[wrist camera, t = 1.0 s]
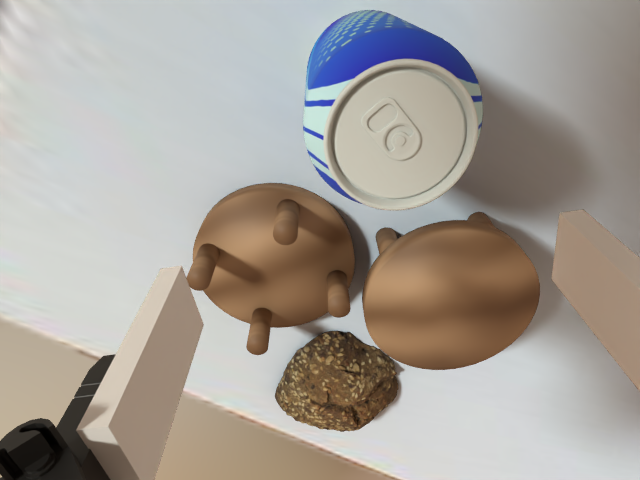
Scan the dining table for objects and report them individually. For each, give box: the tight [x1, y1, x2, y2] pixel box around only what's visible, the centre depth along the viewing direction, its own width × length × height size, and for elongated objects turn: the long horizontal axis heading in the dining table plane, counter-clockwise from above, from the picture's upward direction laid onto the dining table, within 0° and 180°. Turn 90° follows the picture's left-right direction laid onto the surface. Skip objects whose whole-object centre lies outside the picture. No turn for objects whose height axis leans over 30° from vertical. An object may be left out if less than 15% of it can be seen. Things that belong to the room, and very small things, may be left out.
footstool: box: [362, 212, 540, 370], centre depth 39 cm, size 14×14×6 cm
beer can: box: [303, 10, 483, 210], centre depth 26 cm, size 8×8×16 cm
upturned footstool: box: [186, 183, 355, 355], centre depth 38 cm, size 14×14×6 cm
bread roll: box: [275, 331, 398, 432], centre depth 47 cm, size 13×12×5 cm
